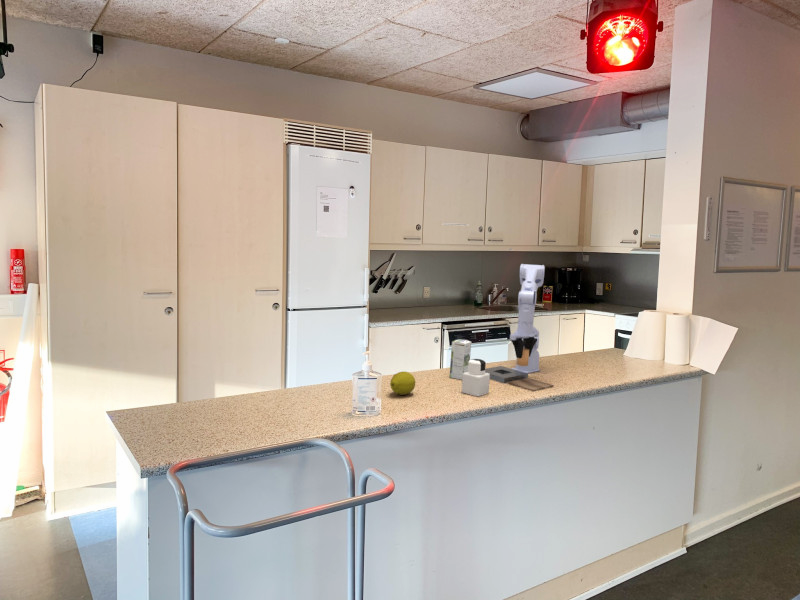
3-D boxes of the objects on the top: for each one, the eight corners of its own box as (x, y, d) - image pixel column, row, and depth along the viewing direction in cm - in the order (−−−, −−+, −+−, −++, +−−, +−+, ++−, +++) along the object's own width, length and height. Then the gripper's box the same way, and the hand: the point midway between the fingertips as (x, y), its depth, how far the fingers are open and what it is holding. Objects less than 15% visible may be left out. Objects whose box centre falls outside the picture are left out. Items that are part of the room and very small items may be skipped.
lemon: (405, 389, 217) (406, 367, 216) (420, 394, 211) (421, 372, 210) (382, 394, 210) (383, 371, 209) (397, 400, 204) (398, 376, 203)
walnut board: (528, 379, 238) (528, 377, 238) (553, 386, 229) (553, 385, 229) (507, 383, 231) (508, 382, 231) (533, 391, 222) (533, 389, 221)
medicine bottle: (472, 388, 221) (474, 356, 220) (489, 393, 217) (491, 360, 215) (461, 392, 216) (463, 359, 214) (478, 397, 212) (480, 363, 210)
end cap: (521, 362, 235) (522, 347, 235) (530, 365, 232) (531, 349, 231) (513, 363, 233) (515, 348, 232) (523, 366, 229) (524, 350, 228)
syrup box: (455, 374, 240) (457, 338, 239) (469, 377, 237) (471, 340, 236) (449, 377, 236) (451, 340, 234) (463, 380, 233) (465, 343, 231)
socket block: (500, 370, 250) (501, 365, 250) (527, 378, 240) (528, 373, 239) (477, 375, 241) (477, 370, 241) (504, 383, 231) (504, 378, 231)
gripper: (521, 324, 222) (518, 361, 224) (546, 322, 232) (543, 357, 233) (506, 321, 228) (504, 357, 230) (531, 319, 237) (529, 353, 239)
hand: (523, 357), depth 232 cm, fingers closed on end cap, 4 cm apart
